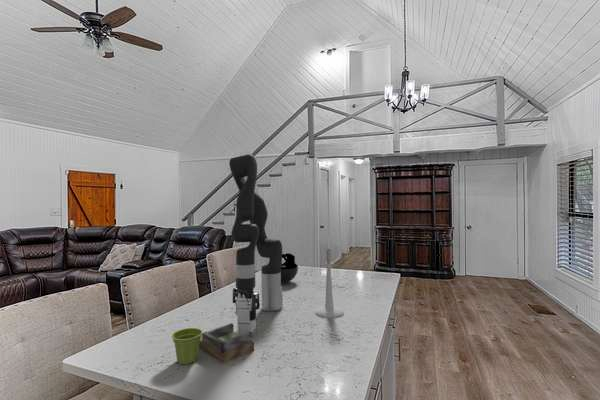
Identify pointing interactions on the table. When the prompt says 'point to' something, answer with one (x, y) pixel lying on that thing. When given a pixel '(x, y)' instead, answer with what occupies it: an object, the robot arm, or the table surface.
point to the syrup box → (245, 317)
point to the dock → (226, 343)
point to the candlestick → (329, 294)
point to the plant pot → (187, 344)
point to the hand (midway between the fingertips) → (245, 317)
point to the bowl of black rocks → (288, 268)
